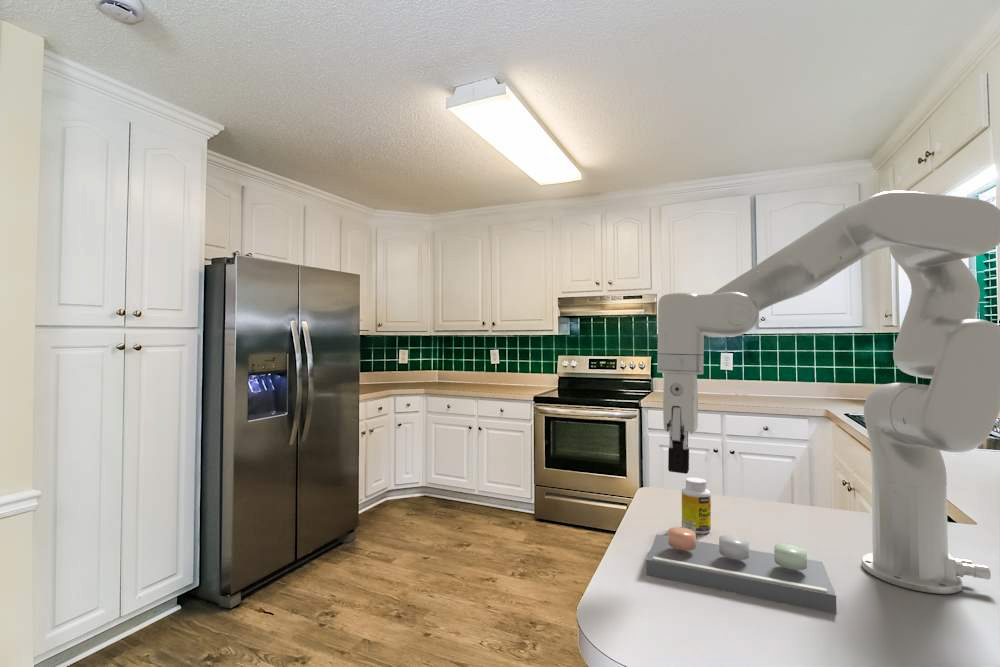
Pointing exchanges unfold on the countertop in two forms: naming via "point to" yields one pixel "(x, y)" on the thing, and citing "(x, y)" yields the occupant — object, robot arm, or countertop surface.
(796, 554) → the sage button
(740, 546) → the grey button
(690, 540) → the terracotta button
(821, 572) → the button panel
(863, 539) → the countertop surface
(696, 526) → the supplement bottle
